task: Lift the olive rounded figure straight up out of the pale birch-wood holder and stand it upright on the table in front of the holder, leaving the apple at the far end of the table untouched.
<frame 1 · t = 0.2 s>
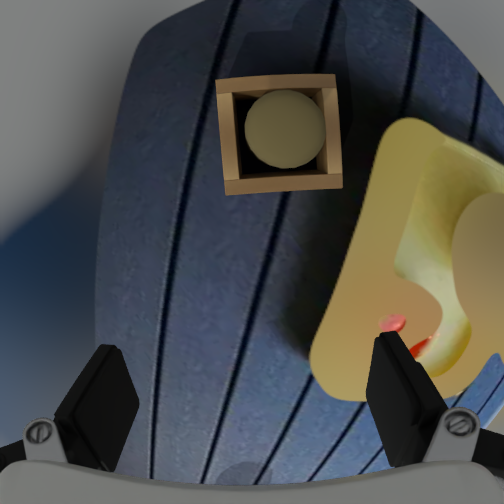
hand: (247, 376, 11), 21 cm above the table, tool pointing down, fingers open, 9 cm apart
olive rounded figure: (277, 134, 28), resting in holder
holder: (277, 134, 28), on the table
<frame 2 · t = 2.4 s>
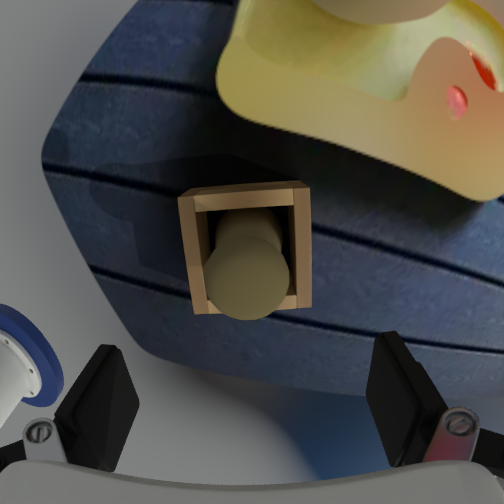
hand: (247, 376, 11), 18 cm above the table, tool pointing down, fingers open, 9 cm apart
olive rounded figure: (249, 236, 28), resting in holder
holder: (249, 236, 28), on the table
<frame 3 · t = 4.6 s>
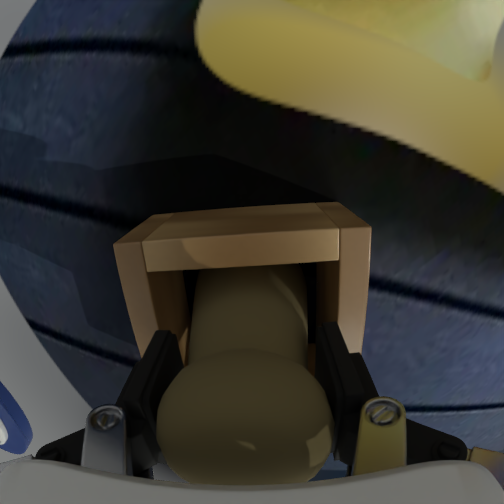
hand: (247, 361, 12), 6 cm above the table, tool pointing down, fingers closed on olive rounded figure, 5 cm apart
olive rounded figure: (251, 292, 17), resting in holder, touching gripper
holder: (251, 293, 17), on the table
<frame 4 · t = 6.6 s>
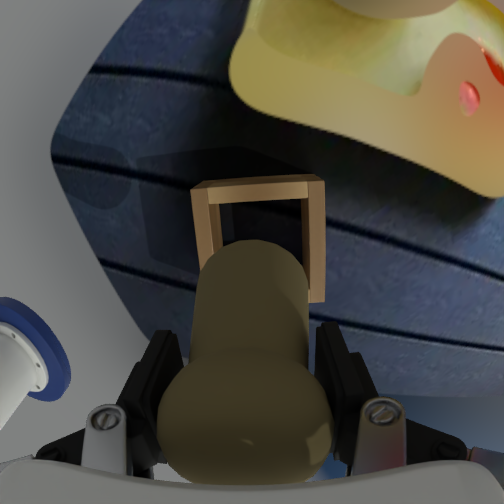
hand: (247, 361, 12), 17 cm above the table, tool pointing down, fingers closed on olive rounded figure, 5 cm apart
olive rounded figure: (252, 291, 17), point 11 cm above the table, touching gripper
holder: (261, 230, 28), on the table
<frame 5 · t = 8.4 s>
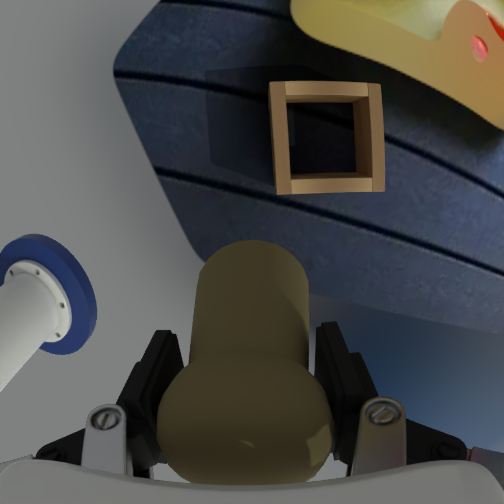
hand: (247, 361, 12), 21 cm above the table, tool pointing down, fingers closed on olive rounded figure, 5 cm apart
olive rounded figure: (252, 292, 17), point 15 cm above the table, touching gripper
holder: (319, 137, 29), on the table
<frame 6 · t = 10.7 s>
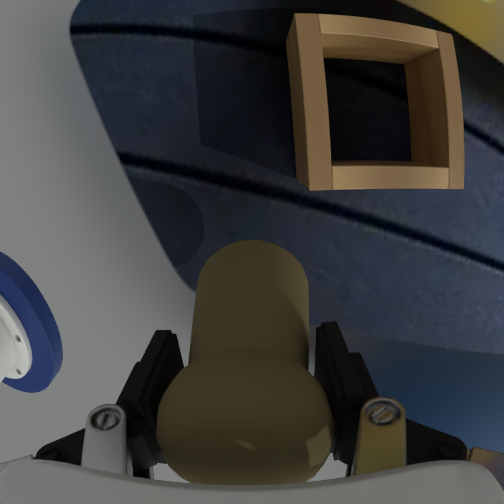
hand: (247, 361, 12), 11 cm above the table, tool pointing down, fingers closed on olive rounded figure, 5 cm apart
olive rounded figure: (252, 292, 17), point 5 cm above the table, touching gripper
holder: (362, 108, 18), on the table
when the fingers open (6 cm above the table, at t = 12.4 s): olive rounded figure stays where it is, on the table.
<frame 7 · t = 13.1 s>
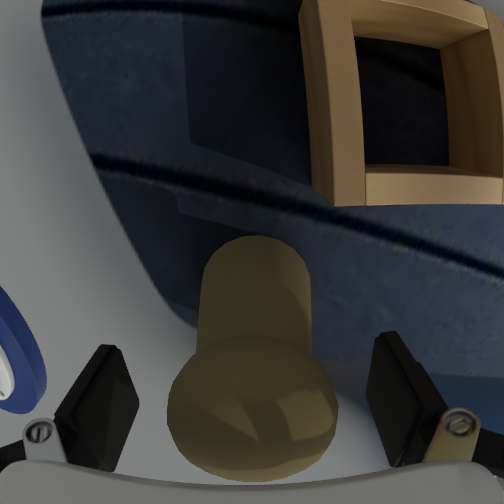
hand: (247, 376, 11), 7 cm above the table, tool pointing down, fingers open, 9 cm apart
olive rounded figure: (255, 286, 18), on the table
holder: (393, 99, 14), on the table
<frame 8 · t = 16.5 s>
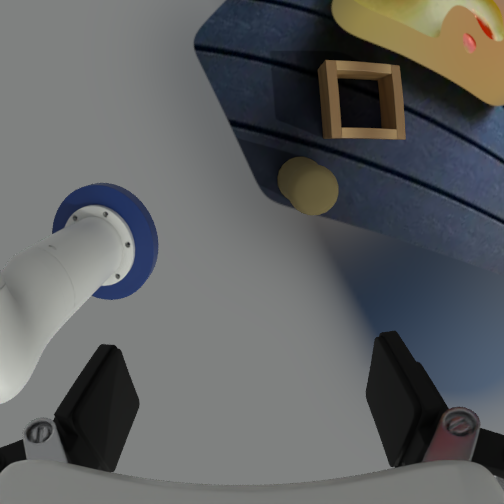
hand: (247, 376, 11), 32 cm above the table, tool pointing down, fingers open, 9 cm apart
olive rounded figure: (300, 179, 40), on the table
holder: (355, 103, 37), on the table
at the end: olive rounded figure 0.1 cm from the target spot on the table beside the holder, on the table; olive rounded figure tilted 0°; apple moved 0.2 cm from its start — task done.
